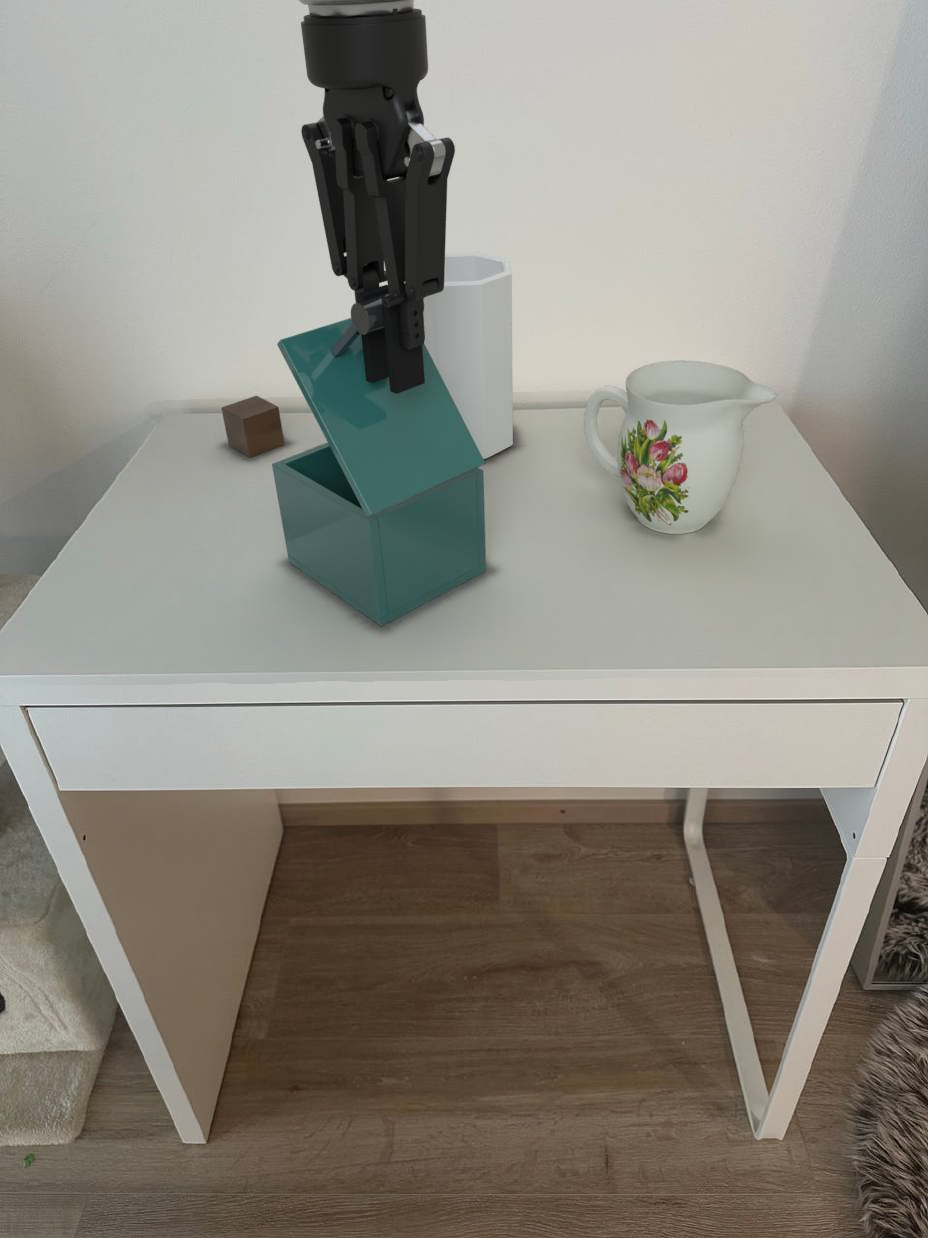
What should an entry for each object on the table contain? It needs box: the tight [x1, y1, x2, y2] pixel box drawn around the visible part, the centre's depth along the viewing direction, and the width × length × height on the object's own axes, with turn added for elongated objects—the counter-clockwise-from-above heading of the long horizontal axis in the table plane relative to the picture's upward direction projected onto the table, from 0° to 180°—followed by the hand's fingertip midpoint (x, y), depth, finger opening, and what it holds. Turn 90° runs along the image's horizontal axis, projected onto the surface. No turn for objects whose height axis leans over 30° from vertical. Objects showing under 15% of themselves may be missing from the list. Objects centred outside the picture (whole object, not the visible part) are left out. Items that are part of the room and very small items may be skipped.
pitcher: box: [583, 359, 779, 535], centre depth 84 cm, size 11×18×14 cm, turn 51°
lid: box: [276, 293, 486, 517], centre depth 69 cm, size 14×12×8 cm
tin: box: [271, 442, 487, 627], centre depth 80 cm, size 14×12×10 cm
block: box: [220, 395, 285, 458], centre depth 102 cm, size 4×4×4 cm
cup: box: [404, 251, 514, 460], centre depth 97 cm, size 11×11×18 cm
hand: (395, 381), depth 70 cm, fingers closed on lid, 2 cm apart
